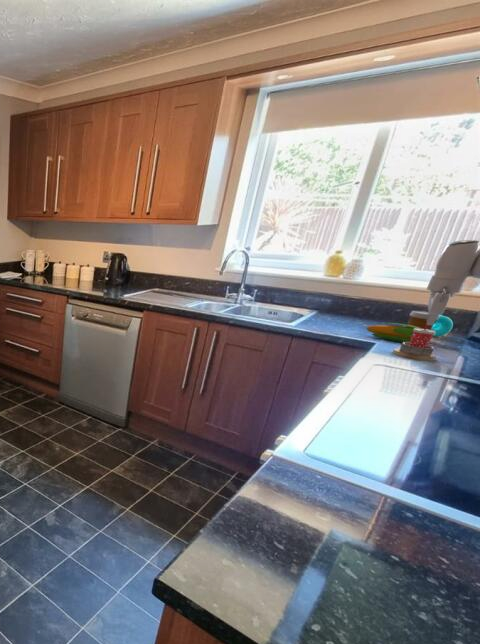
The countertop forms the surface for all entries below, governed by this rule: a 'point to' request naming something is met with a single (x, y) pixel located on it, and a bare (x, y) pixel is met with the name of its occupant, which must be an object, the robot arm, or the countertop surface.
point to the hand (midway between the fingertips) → (429, 323)
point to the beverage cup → (421, 337)
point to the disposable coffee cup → (419, 319)
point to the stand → (415, 352)
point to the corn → (392, 332)
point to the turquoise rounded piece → (442, 326)
